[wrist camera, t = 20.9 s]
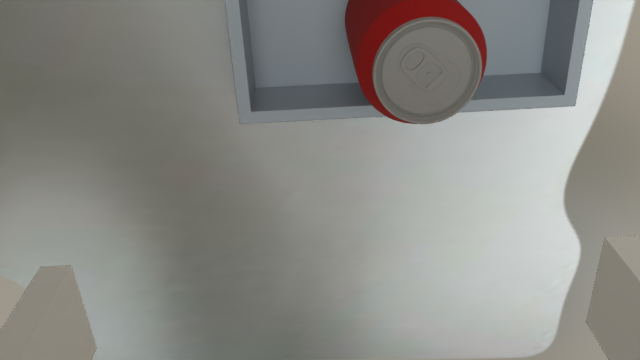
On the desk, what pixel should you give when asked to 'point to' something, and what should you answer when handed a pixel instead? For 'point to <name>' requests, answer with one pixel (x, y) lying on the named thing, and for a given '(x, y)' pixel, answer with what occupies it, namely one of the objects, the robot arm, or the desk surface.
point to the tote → (339, 72)
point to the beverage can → (415, 56)
